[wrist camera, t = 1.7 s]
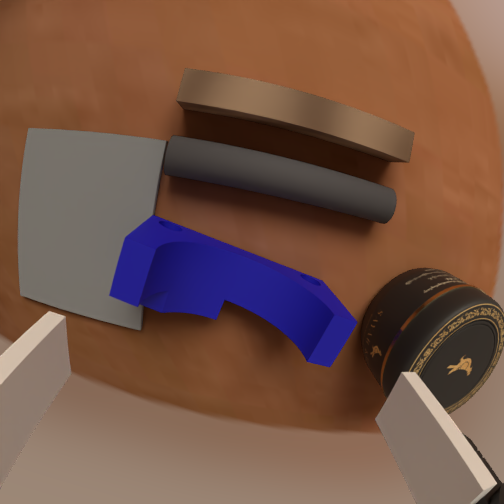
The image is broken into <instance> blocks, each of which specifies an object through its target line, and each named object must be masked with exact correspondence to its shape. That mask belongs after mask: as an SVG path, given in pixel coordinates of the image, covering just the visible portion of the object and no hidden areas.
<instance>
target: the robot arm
mask: <svg viewBox="0 0 504 504" xmlns="http://www.w3.org/2000/svg"><path fill="white" fill-rule="evenodd" d="M70 375H71V368H70V361H69V352H68V342H67V331H66V317H65V316H62V315H59V314H56V313H53V312H50V311H49V312H48V313H46V314H45V315H44V316H43V317H42V318H41V319H40V320H38V321H37V322H36V323H35V324H34V325H33V326H32V327H31V328H30V329H29V330H27V331H26V332H25V333H24V334H23V335H22V336H21V337H20V338H19V339H18V340H17V341H16V342H15V343H13V344H12V345H11V346H10V347H9V348H8V349H7V350H6V351H5V352H4V353H3V354H2V355H1V356H0V488H1V487H2V485H3V483H4V481H5V479H6V477H7V476H8V474H9V472H10V470H11V468H12V466H13V465H14V463H15V461H16V460H17V458H18V456H19V454H20V453H21V451H22V449H23V448H24V446H25V444H26V443H27V441H28V439H29V438H30V436H31V434H32V433H33V431H34V430H35V428H36V426H37V425H38V423H39V422H40V420H41V419H42V417H43V415H44V414H45V412H46V410H47V409H48V408H49V406H50V405H51V403H52V402H53V400H54V398H55V397H56V396H57V394H58V393H59V391H60V390H61V388H62V387H63V385H64V384H65V382H66V381H67V379H68V378H69V377H70ZM375 420H376V422H377V424H378V426H379V428H380V430H381V432H382V434H383V436H384V438H385V440H386V442H387V444H388V446H389V448H390V450H391V452H392V454H393V456H394V458H395V460H396V462H397V464H398V466H399V469H400V471H401V473H402V475H403V477H404V479H405V481H406V483H407V485H408V487H409V489H410V491H411V493H412V495H413V498H414V500H415V502H416V504H504V483H502V482H501V481H500V480H499V479H498V477H497V476H496V474H495V473H494V471H493V470H492V468H491V467H490V465H489V464H488V463H487V461H486V460H485V458H482V454H481V453H480V451H477V447H476V446H475V445H474V443H473V442H472V441H471V439H469V438H468V437H467V436H466V435H464V434H463V433H461V431H460V430H459V429H458V427H457V426H456V424H455V423H454V422H453V420H452V419H451V418H450V417H449V415H448V414H447V412H446V411H445V410H444V408H443V407H442V406H441V404H440V403H439V402H438V401H437V399H436V398H435V397H434V395H433V394H432V393H431V391H430V390H429V389H428V388H427V386H426V385H425V384H424V383H423V381H422V380H421V379H420V377H419V376H418V375H417V374H416V372H401V374H400V376H399V378H398V380H397V382H396V384H395V386H394V388H393V389H392V391H391V393H390V395H389V397H388V398H387V400H386V402H385V404H384V405H383V407H382V409H381V410H380V412H379V414H378V415H377V417H376V419H375Z"/></svg>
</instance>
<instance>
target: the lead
mask: <svg viewBox="0 0 504 504" xmlns="http://www.w3.org/2000/svg"><path fill="white" fill-rule="evenodd" d="M164 173H165V175H171V176H176V177H182V178H188V179H193V180H199V181H204V182H209V183H214V184H219V185H224V186H229V187H234V188H239V189H244V190H249V191H253V192H258V193H263V194H267V195H272V196H276V197H281V198H285V199H289V200H293V201H298V202H302V203H306V204H310V205H314V206H318V207H322V208H326V209H330V210H334V211H338V212H342V213H346V214H350V215H353V216H357V217H361V218H365V219H368V220H372V221H376V222H379V223H383V224H385V223H387V222H388V221H389V220H390V219H391V218H392V216H393V214H394V211H395V208H396V194H395V191H394V190H393V189H391V188H388V187H385V186H382V185H379V184H376V183H373V182H370V181H367V180H364V179H361V178H357V177H354V176H351V175H348V174H344V173H341V172H337V171H334V170H330V169H327V168H323V167H320V166H316V165H312V164H309V163H305V162H301V161H297V160H293V159H289V158H285V157H281V156H277V155H273V154H269V153H264V152H260V151H255V150H251V149H246V148H241V147H237V146H232V145H227V144H221V143H216V142H211V141H205V140H200V139H194V138H188V137H182V136H175V135H173V136H172V137H171V139H170V141H169V144H168V147H167V150H166V155H165V161H164Z"/></svg>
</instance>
